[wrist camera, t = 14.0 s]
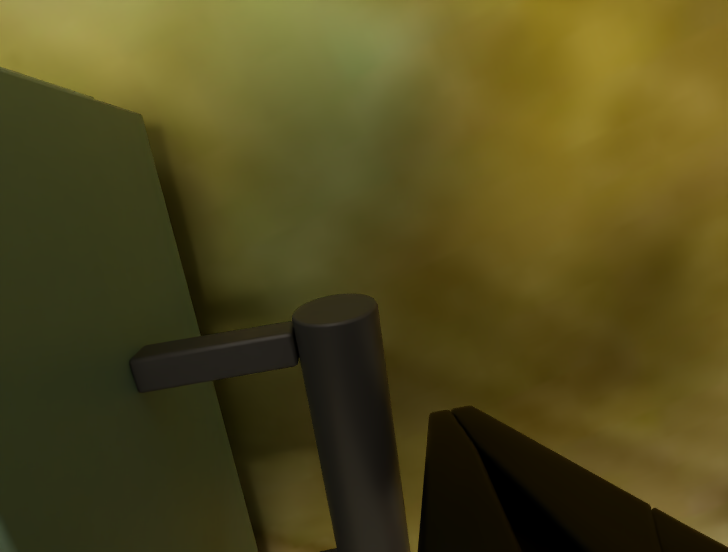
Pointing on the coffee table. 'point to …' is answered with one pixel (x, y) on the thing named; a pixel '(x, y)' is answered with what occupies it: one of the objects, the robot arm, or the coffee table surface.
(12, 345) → the drawer
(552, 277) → the coffee table surface
